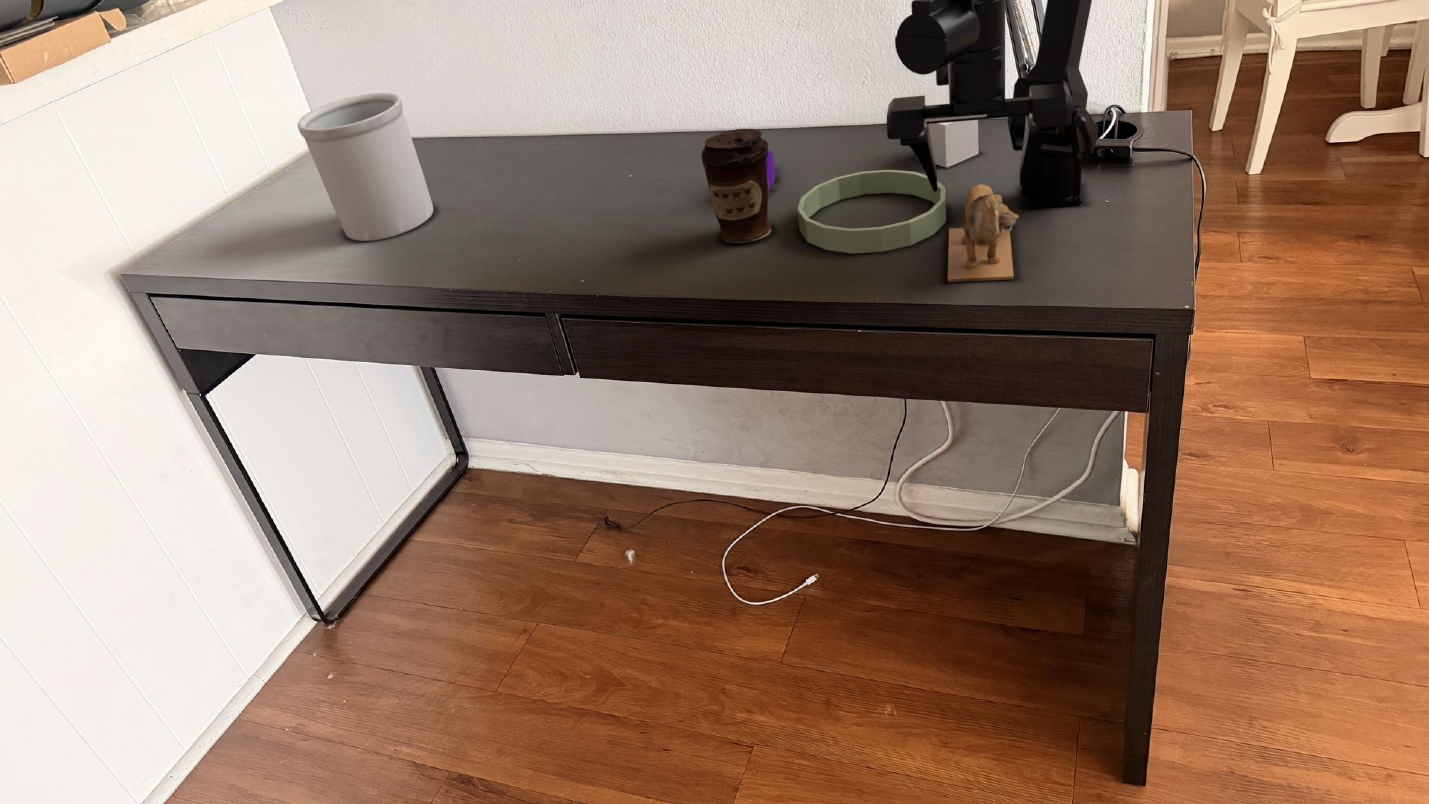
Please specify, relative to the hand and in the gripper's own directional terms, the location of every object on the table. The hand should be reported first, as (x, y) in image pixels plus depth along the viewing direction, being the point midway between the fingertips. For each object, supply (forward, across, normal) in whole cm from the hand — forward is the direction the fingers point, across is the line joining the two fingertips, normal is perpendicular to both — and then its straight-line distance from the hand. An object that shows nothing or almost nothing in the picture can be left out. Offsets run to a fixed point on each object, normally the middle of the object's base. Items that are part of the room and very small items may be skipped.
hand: (978, 187), depth 113 cm
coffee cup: (+8, +29, -9) cm, 31 cm away
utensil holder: (+8, +87, -21) cm, 90 cm away
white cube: (+8, +4, -31) cm, 33 cm away
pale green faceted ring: (+8, +13, -11) cm, 19 cm away
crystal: (+8, +30, -26) cm, 41 cm away
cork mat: (+8, 0, 0) cm, 8 cm away
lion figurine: (+8, -1, 0) cm, 8 cm away
